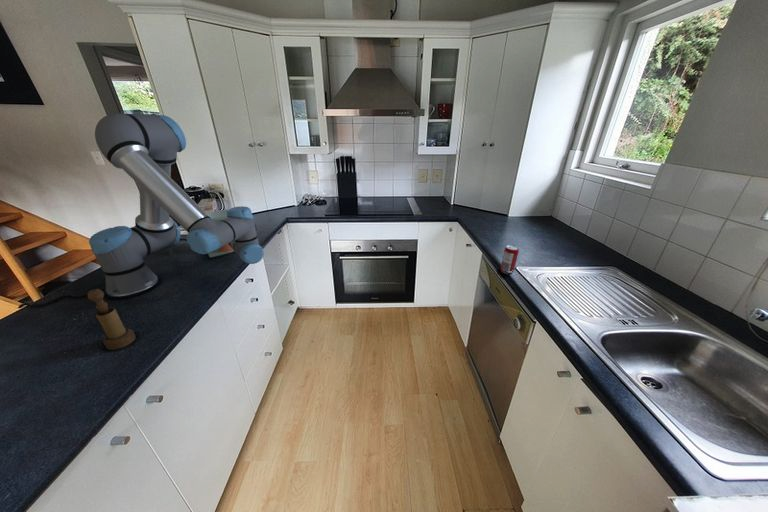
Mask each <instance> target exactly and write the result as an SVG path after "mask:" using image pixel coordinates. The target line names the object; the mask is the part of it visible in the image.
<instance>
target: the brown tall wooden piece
mask: <svg viewBox="0 0 768 512" xmlns="http://www.w3.org/2000/svg"><path fill="white" fill-rule="evenodd" d="M87 292H88V295H86V296H87V298H88V300H90V301H92V302H95V308H96V309H97V310H98V311H96V312H95V317H96V318H97V320H98V322H99V324H100V325H101V327H102V329H103V331H104V333H105V335H106V336H105V337H104V339H103V340H102V341H103V344H104V346H105V349H107V350H109V351H110V350H111V351H115V350H120V349H122V348H126V347H127V346H129V345H131V344H132V343H133V342H134V341H136V338H137V336H136V334H135V333H134V330H133V329H131V328H125V325H124V324H123V322H122V319H121V317H120V315H119V314H118V312H117V310H116V307H113V306H109V305H108V302H107V301H105V300H104V296H105V293H104V291H103V290H99V288H93V289H91V290H90V291H87ZM108 306H109V307H108Z"/></svg>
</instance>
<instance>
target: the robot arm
mask: <svg viewBox="0 0 768 512" xmlns="http://www.w3.org/2000/svg"><path fill="white" fill-rule="evenodd" d="M94 137H95V143H96V145H97V147H98V150H99V151H100V153H101V154H102V155H103V157H104V158H105V159H106V160H107V161H108V162H109V163H110V164H111V165H112V166H113V167H114V168H116V169H119V170H120V169H121V170H123V171H124V172H125V173H126V174H127V175H128V176H129V177H130V178H131V179H132V180H133V181H134V182H135V183H136V184H137V185H138V187H139V214H138V215H137V216H135V219H134V226H130V227H129V226H127V225H117V226H114V227H108V228H105V229H102V230H100V231H97V232H96V233H93V235H91V236H90V238H89V239H88V243H89V246H90V249H91V252H92V253H93V255H94V257H95V258H96V261H97V263H98V265H99V266H100V268H101V270H102V272H103V274H104V277H105V286H103V287H99V288H98V289H99V290H102V291H103V290H105V293H106V294H107V297H108V298H111V299H117V300H118V299H119V300H121V299H127V298H132V297H136V296H139V295H142V294H144V293H147V292H149V291H151V290H152V289H154V288H156V287H157V285H158V284H159V282H160V281H159V278H158V276H157V275H156V274H155V273H154V272H153V271H152V270H151V268H150V267H148V266H147V264H146V263H145V260H144V257H147V256H150V255H152V254H154V253H157V252H160V251H162V250H165V249H168V248H171V247H172V246H174V245H175V244H177V243H178V242H179V241H180V239H181V229H180V228H179V227H182V228H183V229H184V230H185V231H186V232H187V235H186V243H187V245H189V248H190V249H191V250H192V251H193V252H194V253H197V254H199V255H208V253H209V252H212V251H215V250H217V249H219V248H220V247H222V246H224V245H226V244H229V245H230V246H231V248H232V249H233V250H234V253H236V255H237V256H238V257H239V258H240V260H241V261H243V262H244V263H246V264H249V265H254V264H258V263H259V262H261V261H262V259H263V258H264V255H265V251H264V249H263V247H262V246H261V245H260V243H259V242H260V241H259V237H258V234H257V231H258V229H257V225H256V224H255V220H254V219H255V218H254V216H253V212H252V210H251V208H250V207H248V206H243V205H241V206H233V207H230V208H227V209H228V210H227V217H228V218H225V219H223V220H220V221H217V222H215V221H214V220H213V219H211V218H210V217H209V216H208V215H207V214H206V213H205V212H204V211H203V210H202V209H201V208H200V207H199V206H198V203H196V201H195V200H194V199H193V198H191V196H190V195H189V194H188V193H187V192H186V191H185V190H184V189H183V188H182V187H180V185H179V184H177V182H176V181H175V180H174V179H172V178H171V177H172V175H171V172H172V168H171V167H172V165H173V164H175V163H176V162H177V160H178V159H177V157H178V153H182V152H183V151H184V150H185V149H186V148H187V147H186V146H187V138H186V136H185V133H184V132H183V130H182V128H181V126H180V125H179V124H178V122H176V121H175V120H174V119H173V118H172V117H170V116H167V115H164V114H156V113H124V112H114V113H110V114H106V115H105V116H103V117H102V118H100V120H98V122H97V124H96V125H95V129H94ZM88 292H89V291H86V292H84V293H80V294H74V293H65V294H62V295H59V296H57V297H54V298H52V299H50V300H48V301H45V302H41V303H40V302H39V303H34V304H32V302H24V303H21V304H19V305H18V307H17V309H22V308H23V307H25V306H29V307H42V306H46V305H49V304H52V303H54V302H57V301H59V300H60V299H63V298H66V297H73V298H82V297H85V296H87V295H88ZM30 304H32V305H30Z"/></svg>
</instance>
